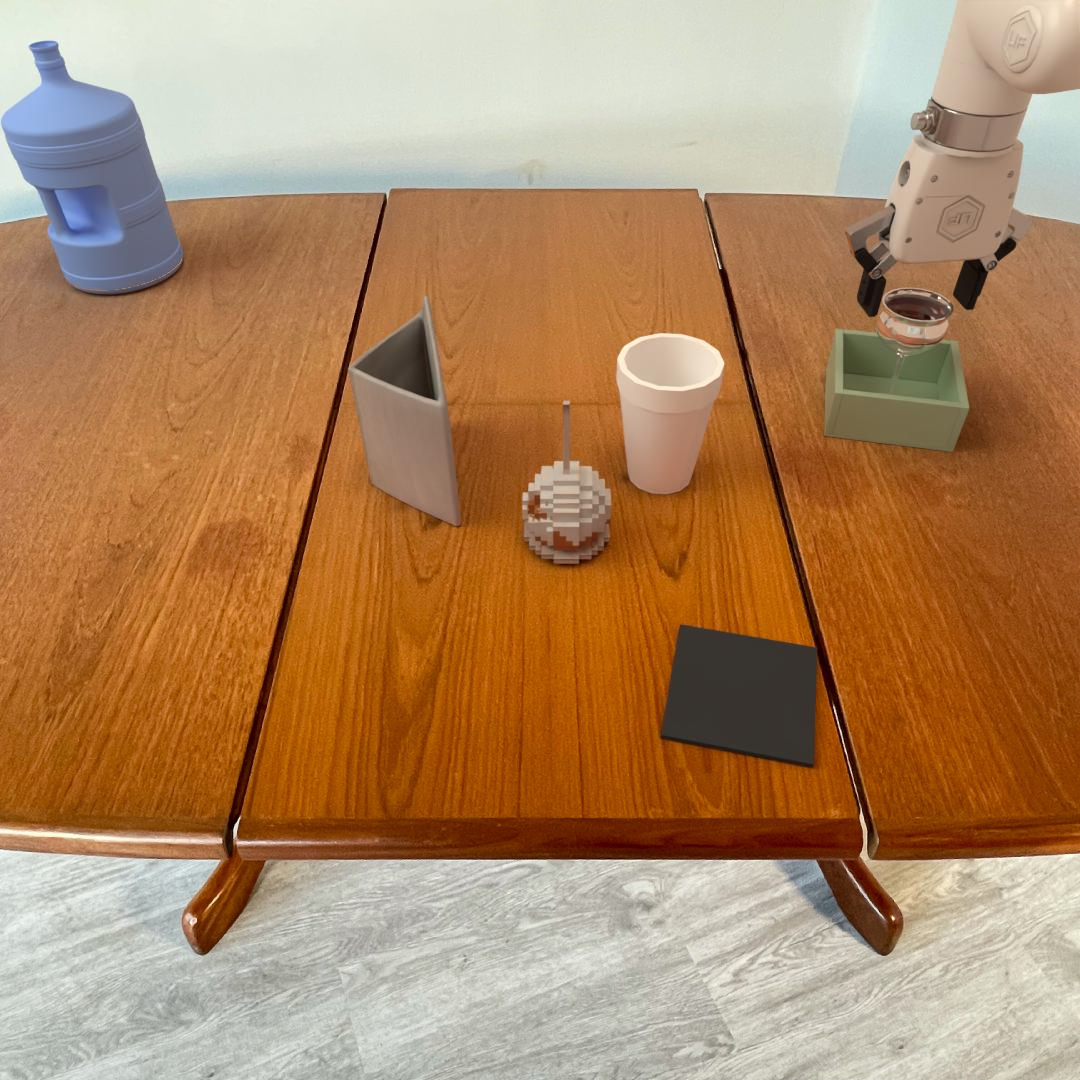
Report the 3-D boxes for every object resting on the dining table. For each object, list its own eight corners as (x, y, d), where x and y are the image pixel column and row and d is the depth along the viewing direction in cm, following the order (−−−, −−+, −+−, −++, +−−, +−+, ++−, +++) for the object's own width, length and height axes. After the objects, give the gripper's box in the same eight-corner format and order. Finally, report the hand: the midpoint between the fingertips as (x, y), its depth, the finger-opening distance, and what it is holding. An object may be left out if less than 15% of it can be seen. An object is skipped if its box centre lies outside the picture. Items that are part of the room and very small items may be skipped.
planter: (366, 435, 93) (331, 263, 79) (440, 424, 94) (419, 253, 80) (377, 539, 81) (339, 358, 68) (462, 526, 82) (441, 345, 69)
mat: (816, 651, 71) (817, 647, 70) (812, 768, 63) (814, 764, 63) (679, 627, 73) (680, 623, 72) (660, 738, 65) (660, 734, 65)
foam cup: (654, 433, 92) (664, 322, 83) (726, 472, 87) (745, 359, 78) (592, 474, 87) (596, 362, 78) (665, 518, 82) (677, 404, 73)
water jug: (140, 234, 129) (64, 19, 110) (209, 262, 122) (141, 37, 103) (43, 277, 120) (-58, 51, 101) (112, 309, 113) (18, 73, 94)
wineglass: (841, 407, 94) (868, 305, 86) (872, 380, 97) (901, 280, 89) (901, 432, 90) (935, 329, 82) (930, 404, 94) (966, 302, 86)
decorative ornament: (526, 509, 84) (520, 375, 73) (608, 509, 83) (613, 375, 73) (522, 567, 78) (515, 431, 68) (610, 568, 78) (616, 432, 67)
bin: (942, 383, 97) (957, 340, 94) (952, 452, 89) (969, 408, 85) (825, 370, 100) (835, 328, 96) (824, 436, 91) (835, 392, 87)
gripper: (889, 146, 71) (842, 333, 83) (1094, 134, 72) (1018, 320, 84) (856, 114, 76) (816, 293, 88) (1046, 103, 77) (981, 282, 89)
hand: (914, 306), depth 86 cm, fingers open, 9 cm apart
